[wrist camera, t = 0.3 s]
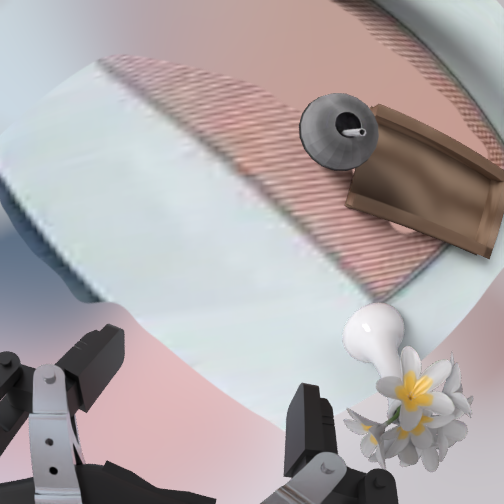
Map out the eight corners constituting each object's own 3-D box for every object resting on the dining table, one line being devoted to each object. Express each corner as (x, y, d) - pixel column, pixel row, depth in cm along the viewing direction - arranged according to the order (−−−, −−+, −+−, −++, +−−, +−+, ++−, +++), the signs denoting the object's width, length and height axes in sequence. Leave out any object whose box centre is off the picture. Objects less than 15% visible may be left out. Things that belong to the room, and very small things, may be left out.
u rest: (370, 107, 32) (379, 100, 28) (497, 172, 31) (512, 173, 28) (344, 205, 36) (351, 209, 32) (474, 254, 36) (488, 261, 32)
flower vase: (370, 377, 43) (407, 500, 19) (301, 312, 41) (312, 460, 17) (430, 329, 40) (504, 436, 16) (370, 252, 38) (465, 358, 14)
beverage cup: (352, 121, 33) (417, 78, 14) (346, 175, 35) (409, 182, 16) (297, 112, 34) (311, 52, 14) (291, 166, 36) (299, 160, 17)
